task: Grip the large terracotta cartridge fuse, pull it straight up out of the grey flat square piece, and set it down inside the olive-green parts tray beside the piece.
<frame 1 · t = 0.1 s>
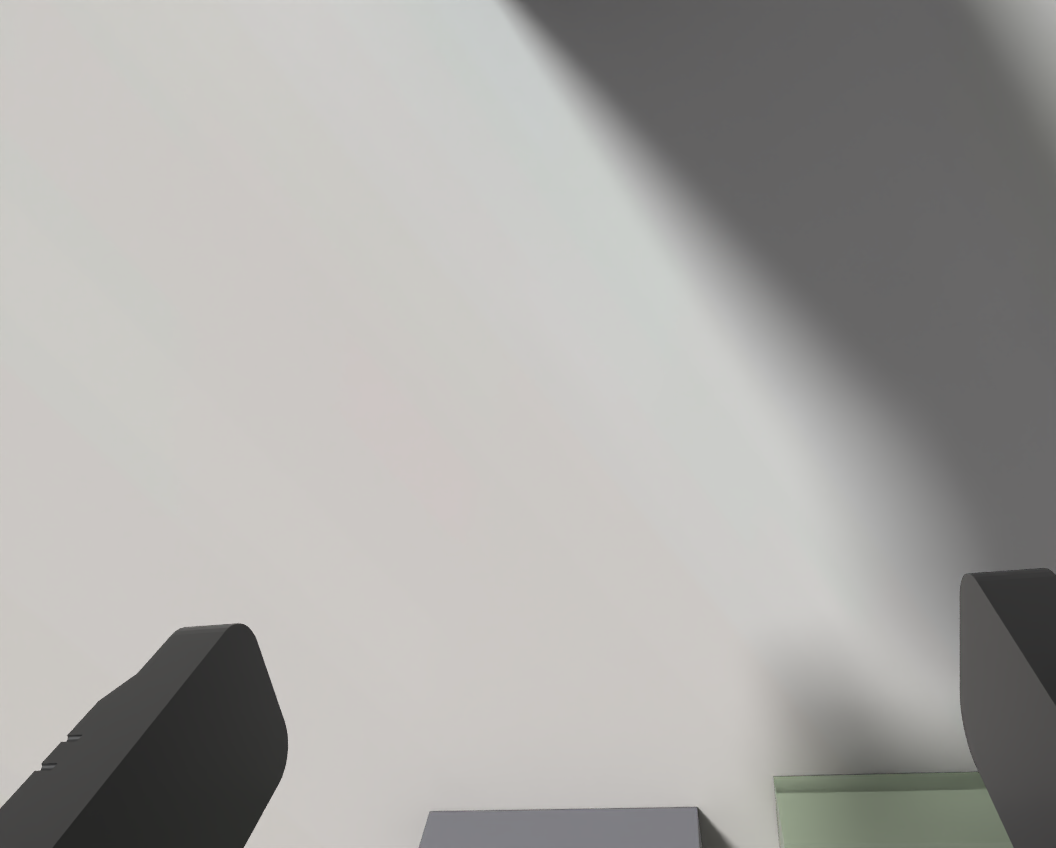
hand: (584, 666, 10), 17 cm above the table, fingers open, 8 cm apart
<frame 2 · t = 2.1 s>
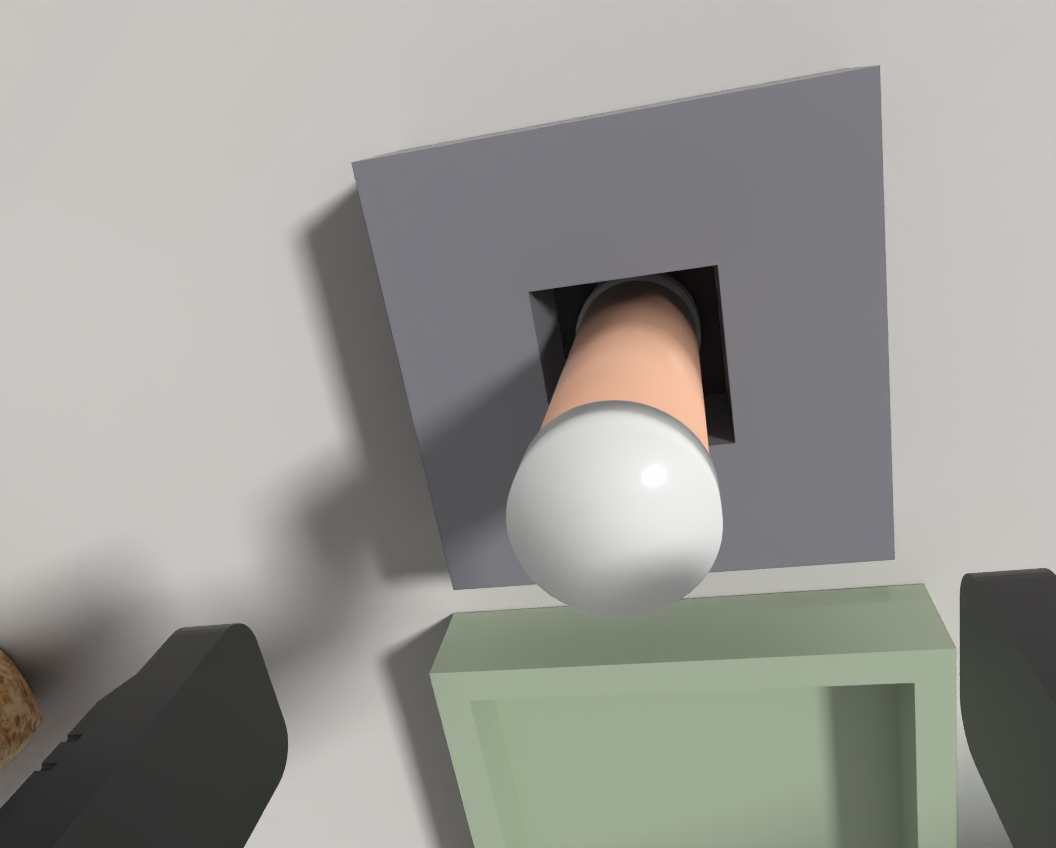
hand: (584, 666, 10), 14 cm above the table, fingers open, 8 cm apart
grey flat square piece: (638, 328, 23), on the table
fuse: (638, 328, 23), resting in grey flat square piece
parts tray: (699, 780, 28), on the table
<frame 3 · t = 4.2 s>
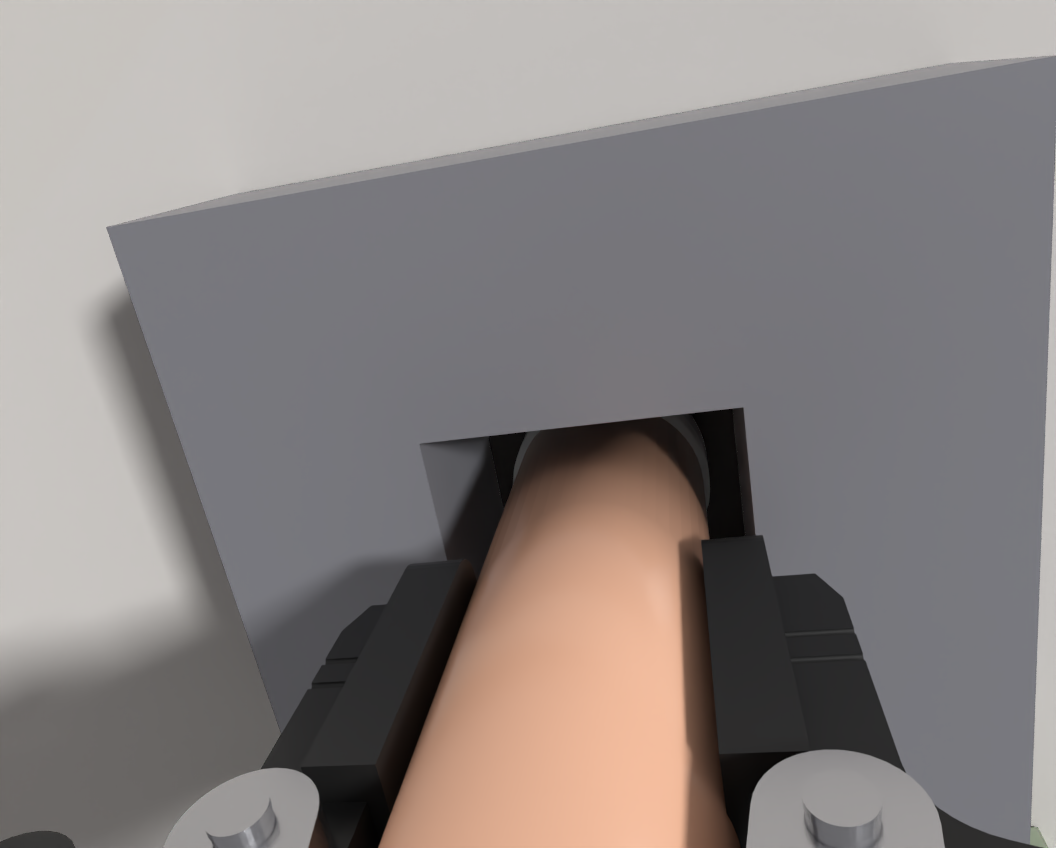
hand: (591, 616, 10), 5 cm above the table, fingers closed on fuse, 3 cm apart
grey flat square piece: (613, 462, 15), on the table
fuse: (613, 463, 15), resting in grey flat square piece, touching gripper
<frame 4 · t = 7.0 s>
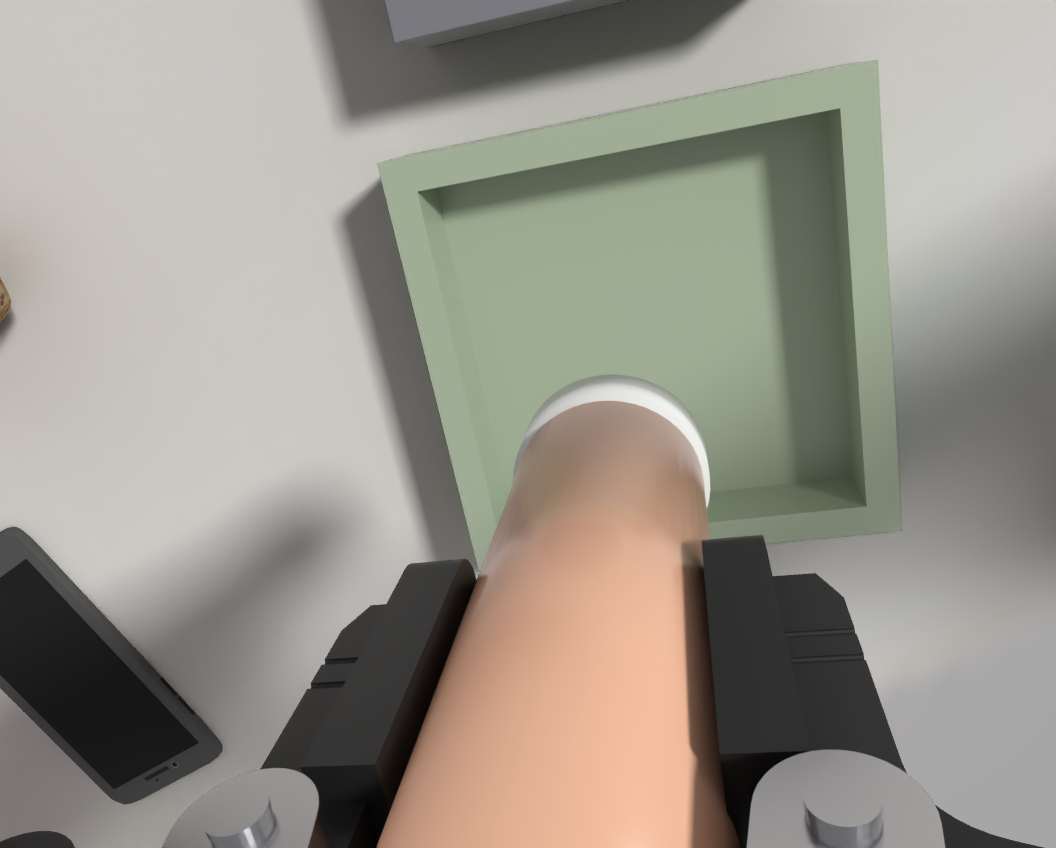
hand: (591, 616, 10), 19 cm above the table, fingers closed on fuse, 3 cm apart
cell phone: (82, 665, 39), on the table
fuse: (613, 462, 15), point 15 cm above the table, touching gripper
parts tray: (650, 327, 29), on the table
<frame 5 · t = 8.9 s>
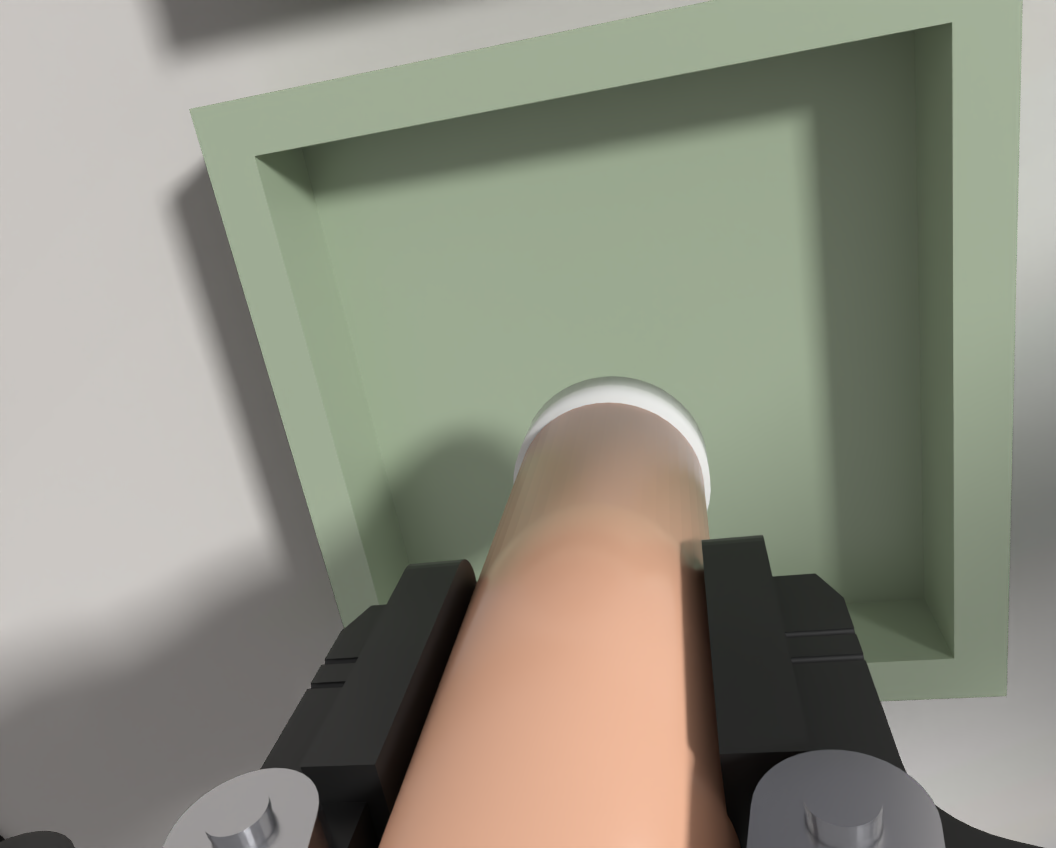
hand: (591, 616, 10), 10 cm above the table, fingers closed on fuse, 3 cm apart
fuse: (613, 463, 15), point 5 cm above the table, touching gripper
parts tray: (628, 371, 19), on the table
when the fingers open (7 cm above the table, at t = 10.2 s): fuse drops 1 cm, resting on parts tray.
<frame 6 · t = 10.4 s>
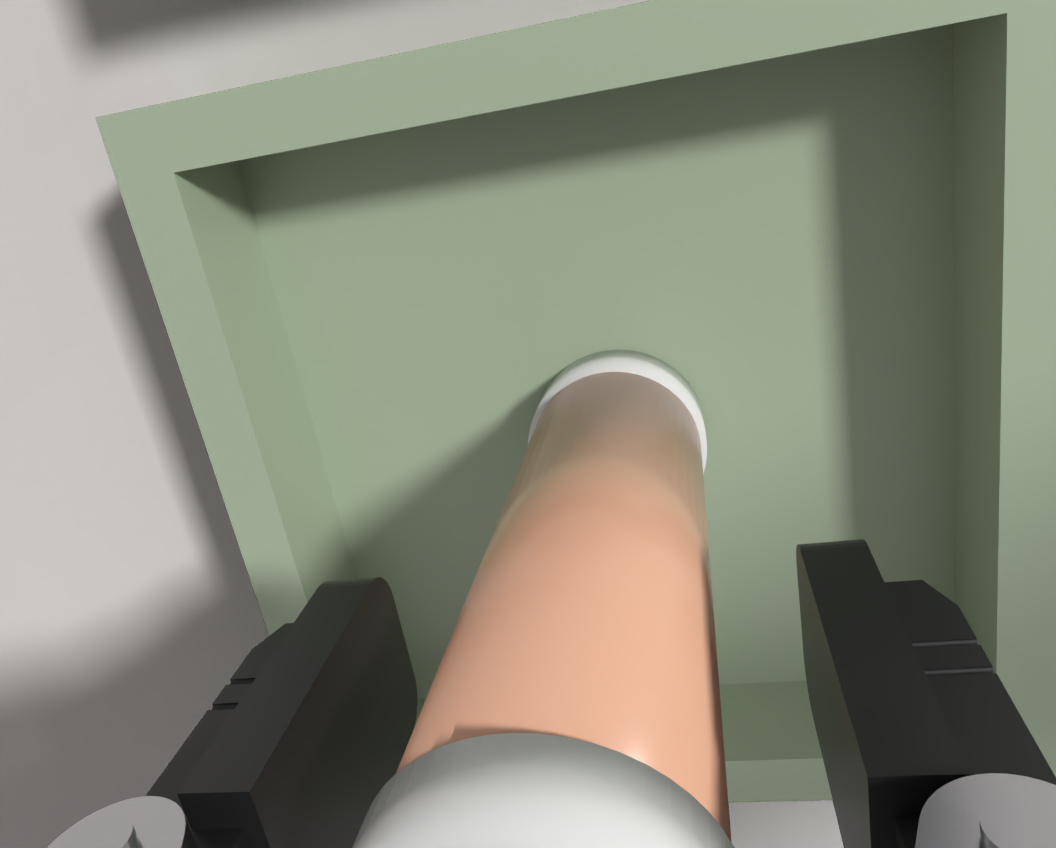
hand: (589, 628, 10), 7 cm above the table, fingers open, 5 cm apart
fuse: (619, 430, 16), point 1 cm above the table, touching parts tray
parts tray: (617, 415, 17), on the table
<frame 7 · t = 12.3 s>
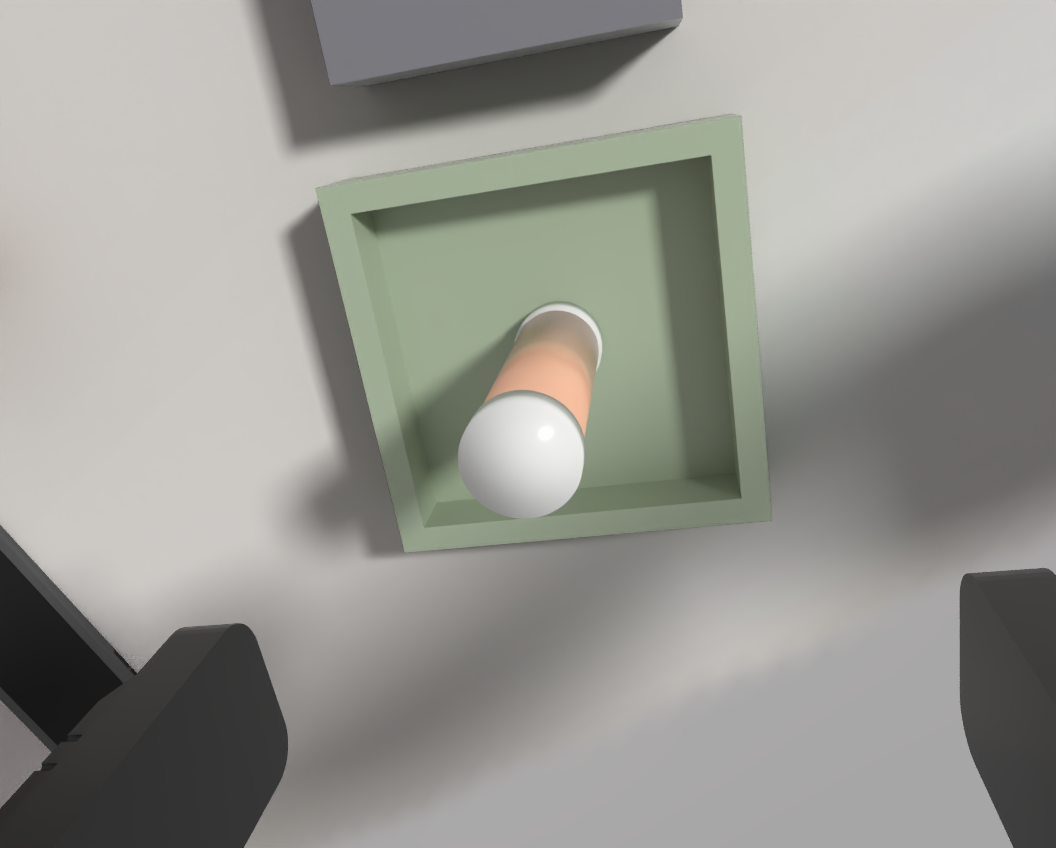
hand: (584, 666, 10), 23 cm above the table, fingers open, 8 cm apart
cell phone: (41, 639, 42), on the table
fuse: (560, 343, 32), point 1 cm above the table, touching parts tray
parts tray: (560, 338, 32), on the table
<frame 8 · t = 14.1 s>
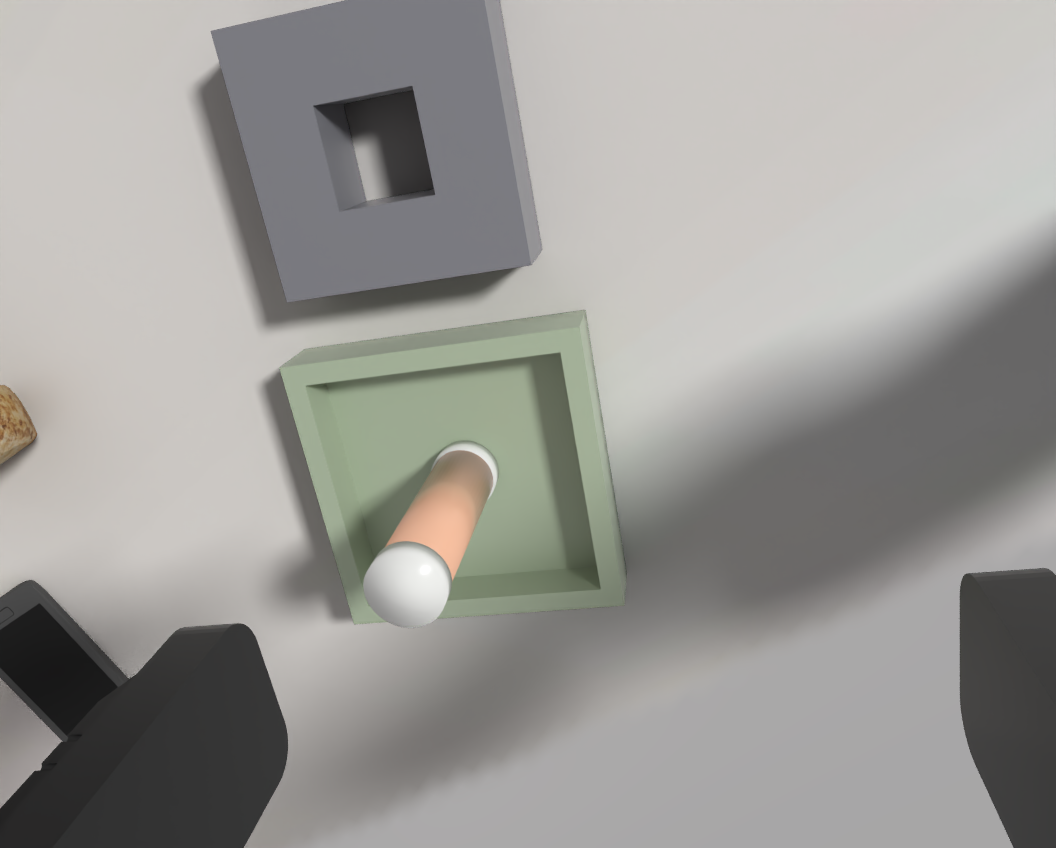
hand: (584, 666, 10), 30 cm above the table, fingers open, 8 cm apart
grey flat square piece: (399, 145, 37), on the table
cell phone: (79, 679, 53), on the table
fuse: (467, 470, 42), point 1 cm above the table, touching parts tray
parts tray: (469, 463, 43), on the table
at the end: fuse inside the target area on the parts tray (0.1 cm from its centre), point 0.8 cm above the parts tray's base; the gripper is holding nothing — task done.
